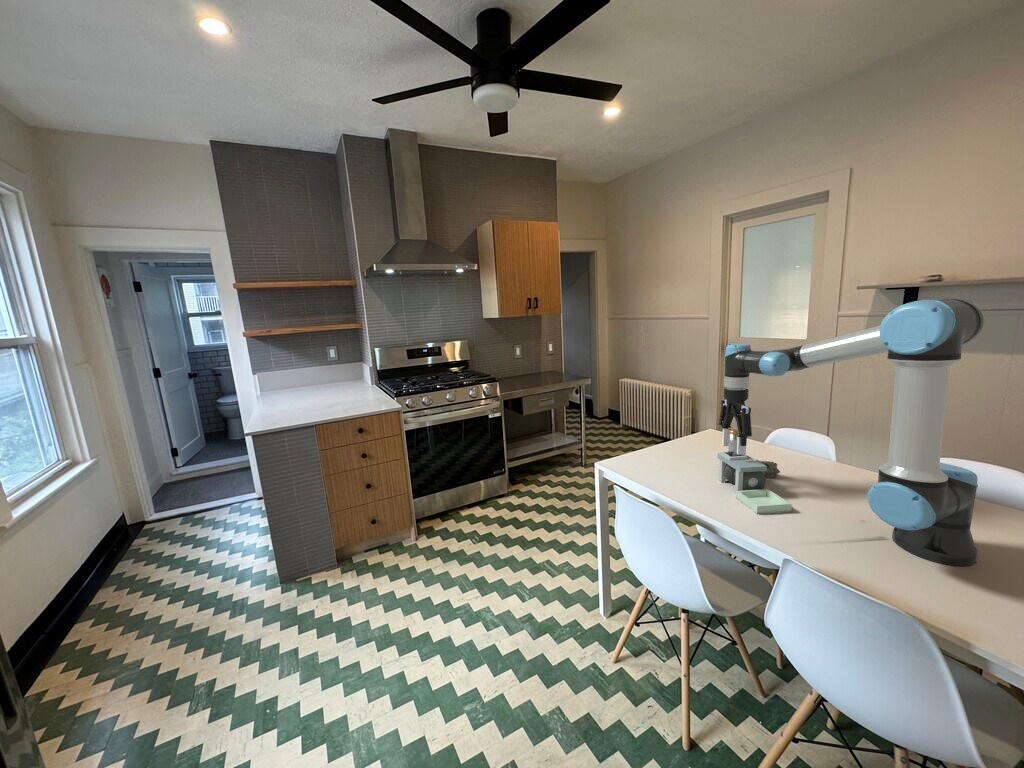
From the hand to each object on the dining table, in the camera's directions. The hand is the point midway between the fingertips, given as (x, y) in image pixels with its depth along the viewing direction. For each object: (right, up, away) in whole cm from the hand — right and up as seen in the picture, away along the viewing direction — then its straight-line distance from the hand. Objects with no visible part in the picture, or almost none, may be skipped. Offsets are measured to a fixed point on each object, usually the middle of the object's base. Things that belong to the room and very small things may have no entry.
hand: (733, 449), depth 139 cm
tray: (+2, -16, -14) cm, 21 cm away
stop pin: (0, -3, 0) cm, 3 cm away
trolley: (+2, -14, -1) cm, 14 cm away
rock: (+12, -6, +3) cm, 14 cm away
